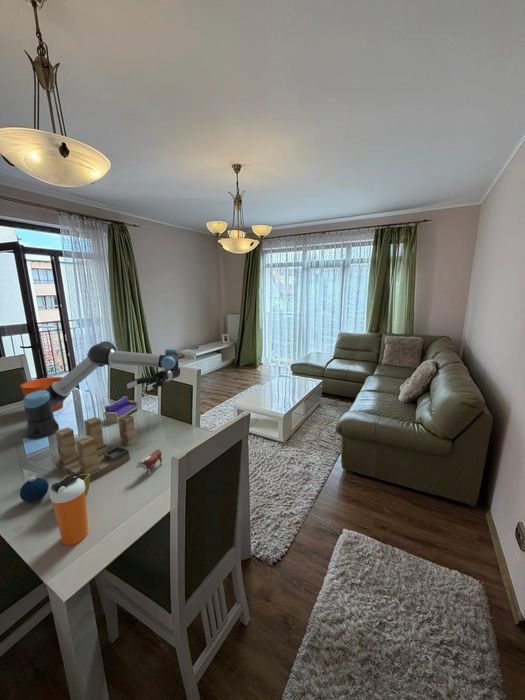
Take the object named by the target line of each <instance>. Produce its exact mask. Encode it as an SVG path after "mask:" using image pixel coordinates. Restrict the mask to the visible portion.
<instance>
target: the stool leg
mask: <svg viewBox="0 0 525 700" xmlns="http://www.w3.org/2000/svg"><path fill="white" fill-rule="evenodd" d="M134 419H135V418H134V416H133V415H129V414H127V415H125V416H123V417H121V418H119V419H118V429H119V436H120V445H123V446H128V447H129V446H131V445H132V444H133V443H135V442H137V437H136V427H135V422H134Z"/></svg>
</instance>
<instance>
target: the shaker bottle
mask: <svg viewBox="0 0 525 700" xmlns="http://www.w3.org/2000/svg"><path fill="white" fill-rule="evenodd" d="M79 477H80V474H72V475H70V476H68V477H66V478H65V479H63V478H62V479H63V480H62V479H61V480H62V481H61V480H60V481H59V482H54V483H52V484H51V486H50V489H51V490H50V493H49V497H50V502H51V504H52V506H53V510H54V515H55V519H56V522H57V527H58V531H59V535H60V539H61V542H62V545H64V546H74V545H76V544H78V543H80V542H81V541H83V540H84V539H85V538H86V537H87V536H88V534H89V523H88V513H87V512H88V511H87V502H86V497H85V483H84V481H83V480H81V479H79Z"/></svg>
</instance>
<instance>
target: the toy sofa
mask: <svg viewBox="0 0 525 700" xmlns="http://www.w3.org/2000/svg"><path fill="white" fill-rule="evenodd" d="M128 397H129V396H126V395H123V396H122V397H121V398H120V399H119V400H117V401H114V402H112V403H110V404H109V405H108V404H107V405H105V406H104V410H105V411H104V412H103V415H104V417H105V418H104V419H105V422H106V423H114V424H115V423H116V424H119V421H118V419H119V418H121V417H123V416H125V415H129V414H130V413H133V411H136V410H137V411H139V407H138V400H129V398H128Z"/></svg>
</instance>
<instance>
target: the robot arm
mask: <svg viewBox="0 0 525 700" xmlns="http://www.w3.org/2000/svg"><path fill="white" fill-rule="evenodd" d="M178 354H179V352H178V349H177V348H175V347H170V348H166V349H165V350H164V354H155V353H144V352H132V351H123V350H118V347H117V345H116V344H115V343H114V342H112V341H108V340H106V341H104V340H103V341H101V342H99V343H97V344H95V345H93V346H92V347H89V349H88V352H87V354H86V357H85V359H83V360H82V361H81V362H80V363H79V364H77V365H76V366H75V367H74V368H72V369H71V370H70V371H69V372H68V373H66V374H65V375H64V376H62V377H63V378H62V379H61V380H60V381H59V382H53V383H52V384H51V385H50V386H48V387H47V388H46V389H45V390H40V391H35V392H33V393H30V394H28V395H26V396H25V395H24V397H23V400H22V401H23V406H24V408H23V409H24V413H25V416H26V417H25V418H26V421H27V424H26V428H25V434H24V435H25V438H26V439H28V440H37V439H38V440H39V439H42V438H47V437H50V436H52V435H55V432H56V431H59V430H60V426H59V424H58V421H57V420H56V419H55V417H54V412H53V411H52V409H53V408H54V407H56V406H57V405H59V404H60V403H62V402H63V403H64V401H65V400H66V399H67V398H68V397H69V396H70V395H71V391H72V390H73V389H75V388H76V387H77V386H79V384H80V383H82V382H83V381H84V380H85V379H86V378H87V377H89V376H91V374H92V373H93V372H94V371H96V370H97V369H99V367H100V368H102V367H104V366H112V365H124V366H136V367H137V366H138V367H149V368H150V367H152V368H162V370H160V371H157V372H156V373H155V374H154V375H153V376H150V375H148V376H144V377H140V378H135V379H132V381H130V382H128V383H126V389H130V388H134V387H137V386H138V385H142V384H149V385H146V390H147V391H148V392H149V391H151V390H153V389H155V388H159V387H160V388H163V387H164V385H165V384H167V383H168V382H169V381H171V380H173V379H176V378H178V377H180V376H181V375H180V368H179V367H178V366H180V365H179V355H178ZM179 375H180V376H179Z"/></svg>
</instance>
